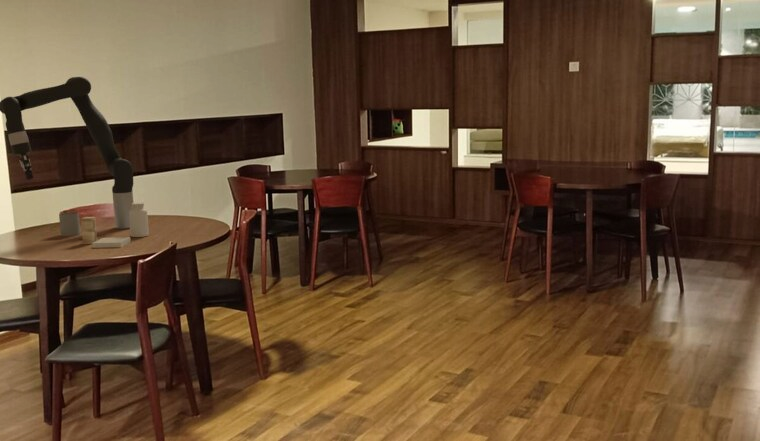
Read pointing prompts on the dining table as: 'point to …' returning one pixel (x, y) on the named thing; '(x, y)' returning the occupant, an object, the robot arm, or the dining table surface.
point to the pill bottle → (138, 220)
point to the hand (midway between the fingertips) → (30, 179)
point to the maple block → (89, 230)
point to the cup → (69, 224)
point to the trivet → (111, 242)
